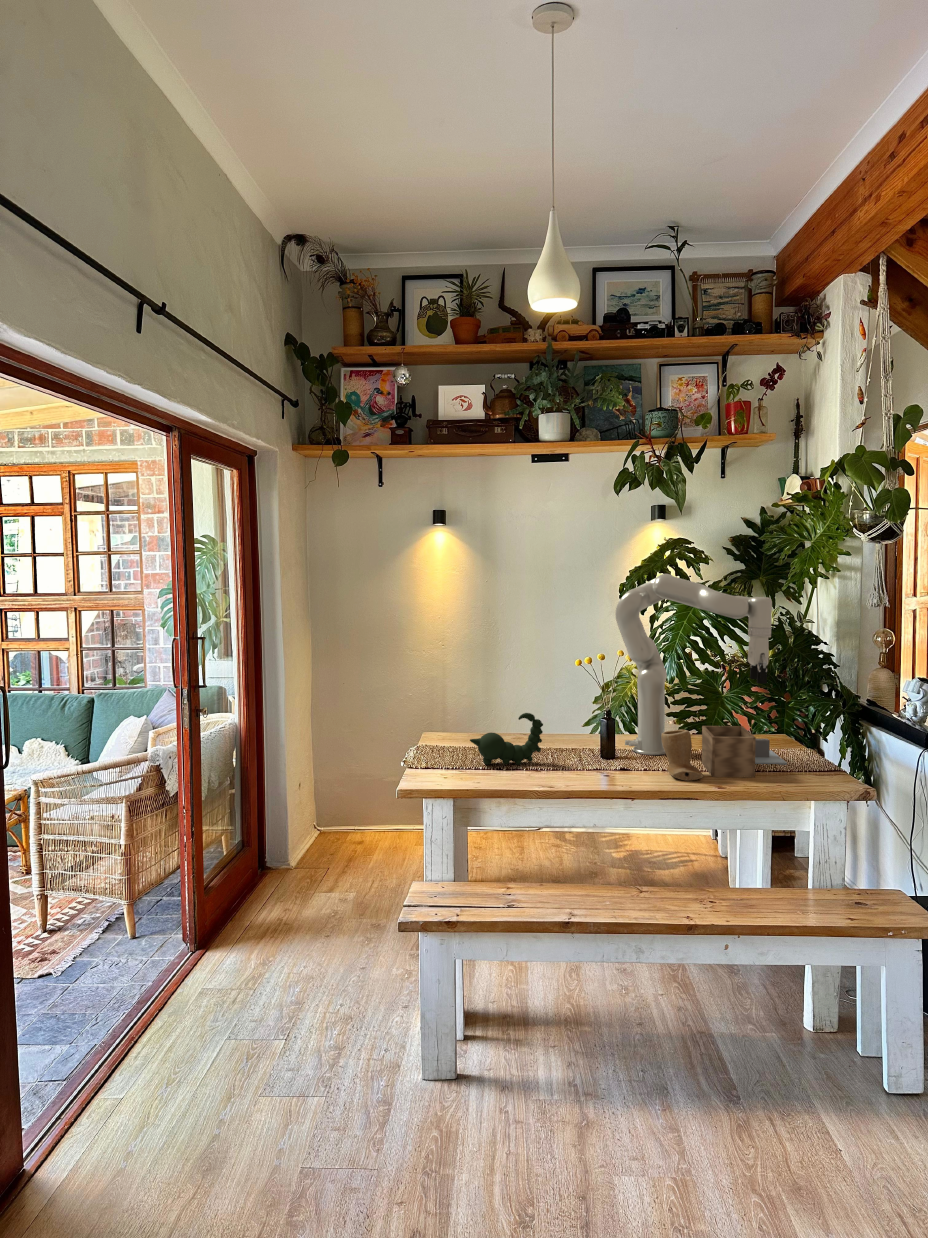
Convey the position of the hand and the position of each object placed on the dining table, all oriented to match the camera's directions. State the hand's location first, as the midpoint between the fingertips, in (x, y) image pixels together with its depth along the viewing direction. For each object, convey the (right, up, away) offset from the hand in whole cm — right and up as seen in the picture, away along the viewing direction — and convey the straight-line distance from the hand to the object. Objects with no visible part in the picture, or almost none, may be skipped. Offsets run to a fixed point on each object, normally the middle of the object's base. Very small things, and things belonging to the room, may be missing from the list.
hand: (758, 681), depth 297 cm
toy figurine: (-88, -29, -2) cm, 93 cm away
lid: (+1, -28, +2) cm, 28 cm away
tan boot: (-32, -30, -20) cm, 48 cm away
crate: (-15, -29, -13) cm, 35 cm away
